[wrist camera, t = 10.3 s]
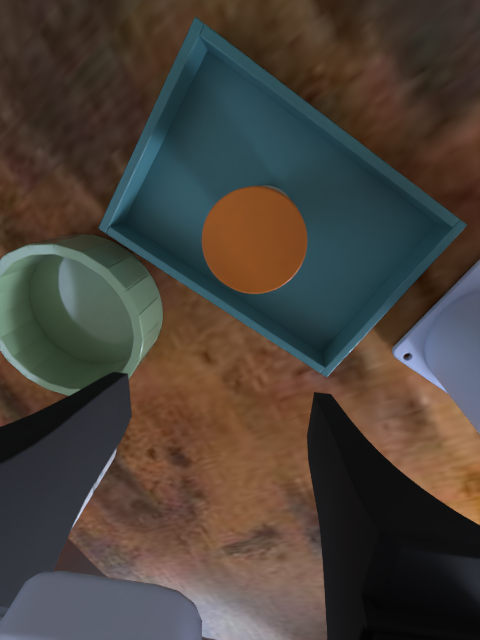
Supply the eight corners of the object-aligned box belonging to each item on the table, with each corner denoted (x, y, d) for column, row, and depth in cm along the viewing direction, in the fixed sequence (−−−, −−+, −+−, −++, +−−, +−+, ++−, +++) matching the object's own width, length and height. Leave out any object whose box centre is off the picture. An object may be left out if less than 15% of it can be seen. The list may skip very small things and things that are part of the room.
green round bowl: (188, 289, 23) (171, 309, 19) (126, 389, 26) (102, 421, 23) (55, 202, 21) (11, 207, 18) (9, 320, 25) (-35, 343, 22)
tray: (446, 219, 19) (467, 225, 17) (322, 358, 23) (326, 377, 21) (206, 37, 17) (194, 16, 15) (117, 223, 22) (97, 228, 19)
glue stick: (309, 207, 19) (330, 228, 11) (272, 259, 21) (266, 312, 12) (256, 169, 19) (238, 162, 11) (222, 225, 20) (182, 257, 12)
